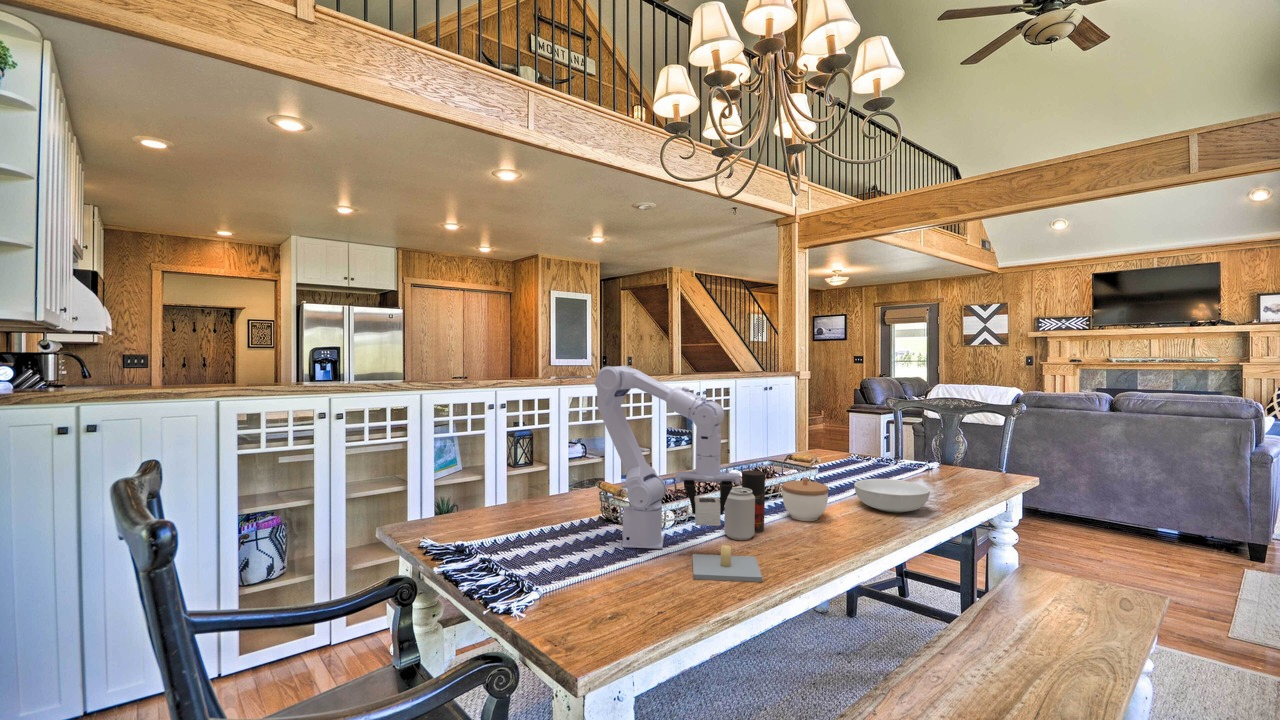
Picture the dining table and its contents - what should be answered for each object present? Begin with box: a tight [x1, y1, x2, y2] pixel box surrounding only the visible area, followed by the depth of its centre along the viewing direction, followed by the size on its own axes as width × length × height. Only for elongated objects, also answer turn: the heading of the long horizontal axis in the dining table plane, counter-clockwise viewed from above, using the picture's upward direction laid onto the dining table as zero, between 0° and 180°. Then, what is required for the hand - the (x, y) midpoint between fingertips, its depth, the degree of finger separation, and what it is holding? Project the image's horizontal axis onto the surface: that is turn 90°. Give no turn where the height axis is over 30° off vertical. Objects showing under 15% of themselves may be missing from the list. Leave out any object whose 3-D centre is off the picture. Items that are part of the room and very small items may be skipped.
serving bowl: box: [853, 478, 931, 514], centre depth 179 cm, size 21×21×7 cm
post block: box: [692, 544, 763, 583], centre depth 128 cm, size 14×12×5 cm
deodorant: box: [741, 469, 766, 534], centre depth 157 cm, size 6×6×15 cm
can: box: [723, 486, 755, 541], centre depth 151 cm, size 8×8×12 cm
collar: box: [694, 496, 721, 527], centre depth 138 cm, size 6×6×5 cm
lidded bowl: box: [781, 477, 830, 522], centre depth 168 cm, size 13×13×11 cm
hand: (707, 513), depth 138 cm, fingers closed on collar, 6 cm apart
